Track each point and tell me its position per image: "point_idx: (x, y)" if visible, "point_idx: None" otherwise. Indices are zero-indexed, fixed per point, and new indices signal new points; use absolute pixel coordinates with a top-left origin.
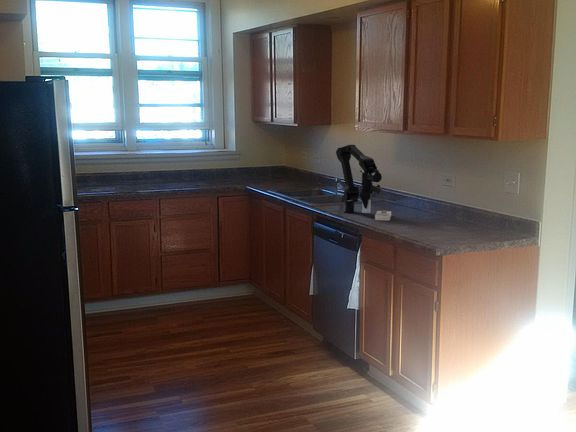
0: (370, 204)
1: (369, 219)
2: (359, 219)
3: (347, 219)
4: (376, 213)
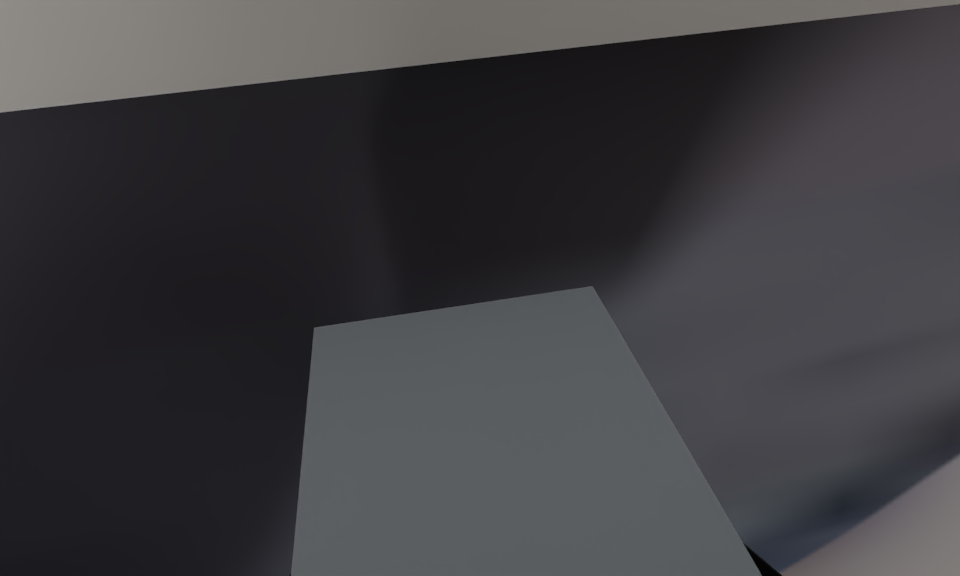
0: (348, 570)
1: (855, 150)
2: (848, 356)
3: (842, 519)
4: (712, 14)
